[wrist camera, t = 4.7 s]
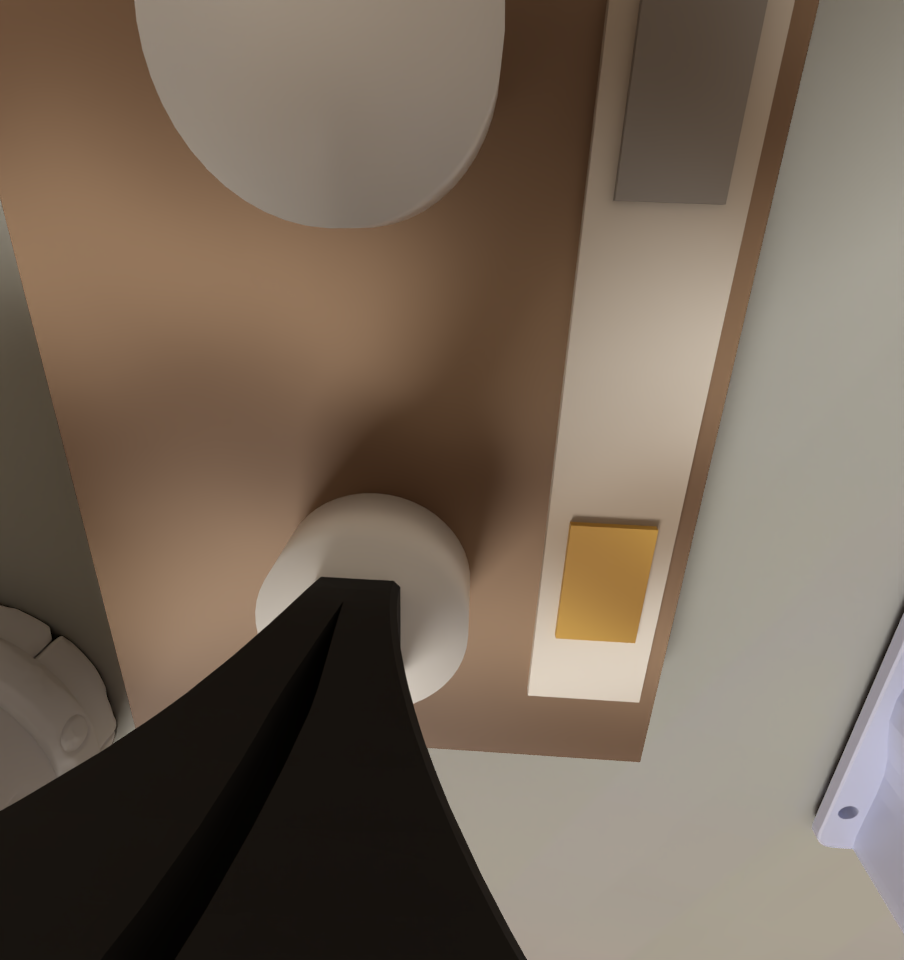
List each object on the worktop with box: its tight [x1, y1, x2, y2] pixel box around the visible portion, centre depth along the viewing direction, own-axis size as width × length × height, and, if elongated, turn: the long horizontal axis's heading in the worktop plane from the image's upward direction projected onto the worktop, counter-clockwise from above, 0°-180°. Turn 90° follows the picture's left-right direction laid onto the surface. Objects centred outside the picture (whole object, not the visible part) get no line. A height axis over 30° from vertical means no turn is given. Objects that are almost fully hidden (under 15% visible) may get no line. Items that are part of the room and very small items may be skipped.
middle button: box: [134, 0, 505, 228], centre depth 6 cm, size 4×4×2 cm
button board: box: [0, 0, 819, 762], centre depth 9 cm, size 26×12×2 cm, turn 178°
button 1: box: [255, 493, 470, 704], centre depth 10 cm, size 4×4×2 cm
